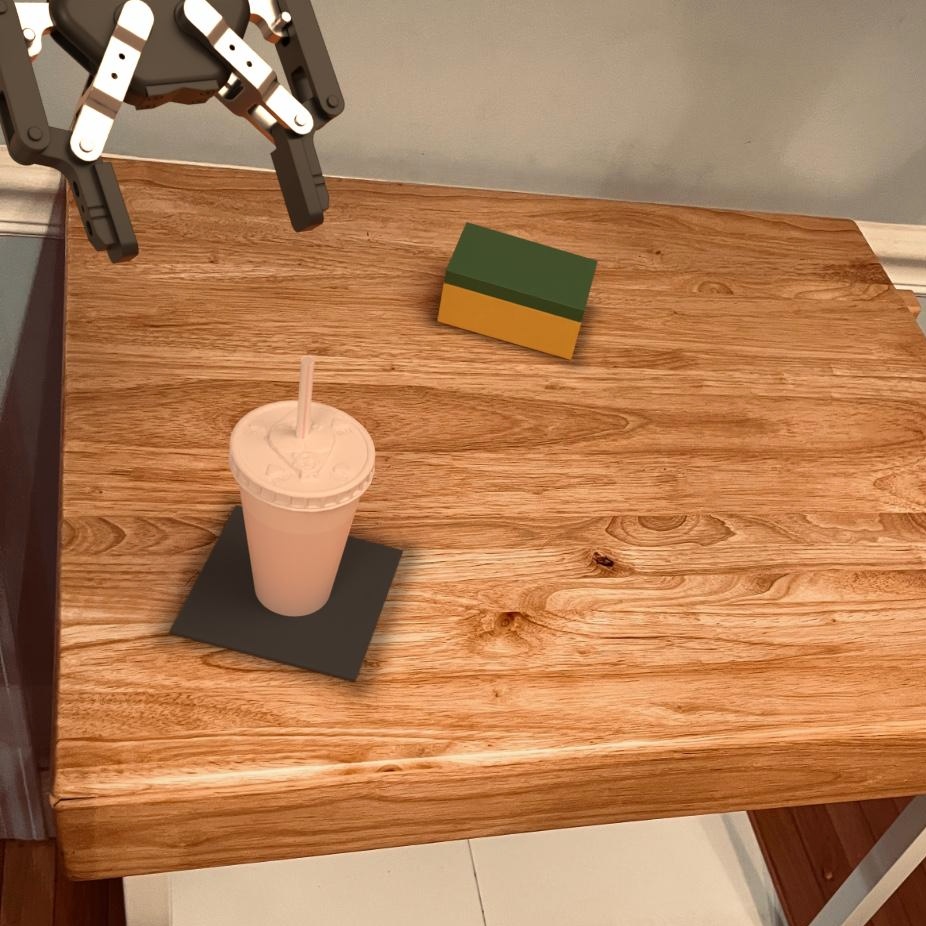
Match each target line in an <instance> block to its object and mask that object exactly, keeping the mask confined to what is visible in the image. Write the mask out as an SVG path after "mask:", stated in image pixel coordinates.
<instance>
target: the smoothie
mask: <svg viewBox="0 0 926 926" xmlns="http://www.w3.org/2000/svg"><path fill="white" fill-rule="evenodd" d="M314 374H315V359H314V358H313V357H312V356H309V355H304V356H302V357H301V358H300V367H299V382H298V384H299V385H298V398H297V399H290V400H280V401H275V402H271V403H267V404H264V405H261V406H259V407H256V408H254V409H253V410H250V411H249V412H247V413H245V415H244V416H243V417H241V418H240V419H239V421H237V423H236V424H235V425H234V427H233V429H232V431H231V434H230V438H229V448H228V460H227V461H228V462H227V463H228V467H229V469H230V472H231V475H232V477H233V479H234V480H235V481H236V482H237V484H238V486H239V487H238V490H239V496H240V500H241V507H242V508H243V514H244V521H245V528H246V534H247V541H248V547H249V554H250V561H251V567H252V574H253V580H254V587H255V593H256V596H257V598H258V599H259V601H260V602H261V603H262V604H263V605H264V606H265V607H266V608H268V609H269V610H271V611H273V612H275V613H278V614H281V615H285V616H304V615H308V614H311V613H313V612H315V611H317V610H319V609H320V608H321V607H323V606H324V605H325V603H326V602H327V600H328V599H329V596H330V593H331V590H332V586H333V583H334V580H335V577H336V573H337V570H338V567H339V564H340V561H341V557H342V554H343V551H344V548H345V544H346V541H347V538H348V536H350V535H349V534H350V531H351V527H352V524H353V523H354V522H353V521H354V518H355V515H356V512H357V509H358V507H359V503H360V499H361V496H363V494H364V493H365V492H366V490H368V488H369V487H370V486H371V484H372V481H373V478H374V475H375V473H376V468H375V466H376V465H375V462H376V448H375V444H374V440H373V438H372V436H371V435H370V433H369V432H368V431H367V429H366V427H364V426H363V424H362V423H360V422H359V421H358V420H357V419H355V418H354V417H353V416H352V415H350V414H348V413H346V412H345V411H343V410H341V409H339V408H337V407H334V406H331V405H328V404H324V403H322V402H316V401H312V399H313V398H312V397H313V385H314Z"/></svg>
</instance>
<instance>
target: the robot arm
mask: <svg viewBox="0 0 926 926" xmlns="http://www.w3.org/2000/svg"><path fill="white" fill-rule="evenodd" d="M250 23H252V24H254V25H255V26H256V27H257V28H258V29H259V31H260V33H261V34H262V38H263V39H264V40H265V41H266V42H269V43H271V44H274V47H275V50H276V54H277V56H278V59H279V61H280V64H281V66H282V71H283V73H284V76H285V78H286V82H287V84H288V87H289V90H290V91H288V90H287V89H286V88H285V87H284V86H283V85H282V84H281V83H280V82H279V80H278V79H279V78H278V75H277V73H276V71H275V70H274V69H273V68H272V67H271V66H270V65H269V64H268V62H266V61H265V60H264V59H263V58H262V57H261V56H260V55H259V54H258V53H257V52H255V50H254V49H252V47H250V46H249V44H247V43H246V42H245V41H244V38H245V35H246V32H247V30H248V26H249V24H250ZM46 35H49V37H50V38H51V39H52V40H53V41H54V43H55V44H56V45H57V46H59V47H60V48H61V49H62V50H63V51H64V52H65V53H66V54H68V56H70V57H71V58H72V59H73V60H74V61H75V62H76V63H77V64H78V65H80V66H81V67H82V68H83V69H84V71H86V72H87V73H88V74H87V77H86V79H85V81H84V85H83V87H82V89H81V92H80V95H79V97H78V100H77V103H76V105H75V108H74V110H73V114H72V116H71V121H70V124H69V127H68V128H67V129H64V128H59V127H55V126H50V125H49V121H48V118H47V114H46V110H45V107H44V103H43V99H42V96H41V92H40V89H39V85H38V81H37V77H36V73H35V70H34V67H33V62H35V61H36V60H37V58H38V56H39V55H40V53H41V50H42V47H43V43H42V37H43V36H46ZM213 97H214V98H215V99H216V100H217V101H219V103H221V104H222V105H223V106H224V107H225V108H226V109H227V110H229V112H230V113H232V114H233V115H235V116H236V117H239V118H244V119H245V120H246V121H247V122H249V123H250V124H251V125H252V126H253V127H254V128H255V129H256V130H257V131H259V133H260V134H262V135H263V136H264V137H265V138H266V139H267V140H268V141H269V142H270V143H271V144H273V146H275V149H274V150H272V151H271V152H270V153H269V154H270V158H271V161H272V164H273V168H274V171H275V174H276V178H277V181H278V185H279V188H280V191H281V194H282V198H283V201H284V204H285V208H286V212H287V214H288V218H289V221H290V225H291V227H292V229H293V231H294V232H295V233H297V234H298V233H304V232H309V231H313V230H314V229H316V228H319V227H320V226H321V225H323V224H324V221H325V215H324V213H325V212H326V211H328V210H329V209H330V195H329V194H330V193H329V191H328V187H327V185H326V181H325V177H324V175H323V171H322V167H321V164H320V160H319V157H318V154H317V150H316V147H315V142H314V137H315V133H316V131H320V130H321V129H322V128H324V127H325V126H326V125H327V124H328V123H330V122H331V121H332V120H334V119H336V118H337V117H339V116H340V115H341V114H342V113H343V112H344V111H345V106H346V104H345V103H346V102H345V98H344V96H343V93H342V90H341V87H340V84H339V81H338V77H337V74H336V71H335V69H334V66H333V63H332V60H331V57H330V54H329V51H328V49H327V46H326V42H325V40H324V36H323V33H322V31H321V28H320V25H319V22H318V18H317V16H316V12H315V10H314V7H313V4H312V2H311V0H46V1H45V2H42V1H41V2H36V1H31V2H29V1H25V2H24V1H14V0H0V128H1V130H2V135H3V138H4V142H5V146H6V149H7V153H8V155H9V157H10V158H11V159H12V160H13V161H14V162H15V163H16V164H18V165H20V166H24V167H29V166H30V167H31V166H33V165H38V166H41V167H46V168H51V169H54V170H56V171H58V172H59V173H61V174H62V175H63V176H64V177H65V179H66V180H67V182H68V184H69V188H70V190H71V193H72V196H73V199H74V202H75V204H76V207H77V210H78V214H79V217H80V220H81V223H82V226H83V229H84V232H85V234H86V238H87V240H88V242H89V243H90V244H91V246H92V247H93V249H94V250H95V251H96V252H105V251H106V253H107V256H108V259H109V261H110V262H111V263H112V264H113V265H115V264H116V265H117V264H120V263H121V264H122V263H126V262H127V263H128V262H131V261H132V260H133V259H136V257H137V256H139V254H140V247H139V243H138V239H137V237H136V234H135V231H134V227H133V224H132V222H131V219H130V215H129V212H128V209H127V206H126V203H125V200H124V196H123V193H122V191H121V187H120V185H119V182H118V181H119V180H118V178H117V176H116V172H115V169H114V167H113V163H112V161H104V160H103V157H102V153H103V150H104V148H105V145H106V143H107V140H108V137H109V134H110V132H111V129H112V127H113V124H114V121H115V119H116V116H117V115H118V113H119V111H120V109H121V106H122V104H123V103H124V104H127V105H129V106H133V107H134V108H135V111H145V110H146V111H147V110H153V109H156V108H159V107H161V106H163V105H166V104H168V103H174V104H180V105H187V106H192V105H193V106H194V105H200V104H201V105H202V104H206V103H207V102H208V101H209V100H210V99H211V98H213Z"/></svg>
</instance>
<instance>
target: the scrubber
mask: <svg viewBox="0 0 926 926" xmlns="http://www.w3.org/2000/svg"><path fill="white" fill-rule="evenodd" d="M597 266H598V260H597V259H594V258H590V257H587V256H584V255H580V254H577V253H572V252H570V251H566V250H563V249H560V248H556V247H552V246H550V245H546V244H542V243H540V242H535V241H533V240H529V239H527V238H522V237H519V236H515V235H512V234H509V233H506V232H502V231H498V230H495V229H492V228H488V227H485V226H482V225H478V224H475V223H472V222H468V221H466V222H465V224H464V227H463V229H462V232H461V234H460V236H459V238H458V241H457V243H456V245H455V247H454V249H453V252H452V255H451V256H450V260H449V262H448V264H447V266H446V269H445V273H444V279H443V285H442V290H441V297H440V303H439V308H438V315H437V322H438V323H441V324H445V325H448V326H452V327H454V328H459V329H462V330H466V331H469V332H473V333H477V334H479V335H483V336H486V337H490V338H493V339H497V340H500V341H504V342H507V343H511V344H514V345H518V346H521V347H525V348H528V349H531V350H535V351H538V352H541V353H545V354H549V355H552V356H555V357H559V358H563V359H566V360H569V361H571V360H572V359H573V354H574V350H575V347H576V343H577V339H578V335H579V334H580V329H581V326H582V322H583V318H584V315H585V310H586V307H587V304H588V300H589V295H590V293H591V289H592V284H593V281H594V277H595V273H596V270H597Z"/></svg>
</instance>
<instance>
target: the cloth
mask: <svg viewBox="0 0 926 926" xmlns="http://www.w3.org/2000/svg"><path fill="white" fill-rule="evenodd" d="M403 551H404V550H402V549H399V548H395V547H393V546H388V545H384V544H381V543H378V542H373V541H371V540H370V541H369V540H366V539H362V538H359V537H355V536H351V535H348V538H347V541H346V544H345V548H344V551H343V554H342V557H341V561H340V564H339V567H338V570H337V573H336V577H335V580H334V583H333V586H332V590H331V593H330V596H329V599H328V600H327V602H326V603H325V605H324V606H323V607H321V608H320V609H319V610H317V611H315V612H313V613H311V614H308V615H304V616H285V615H281V614H278V613H275V612H273V611H271V610H269V609H268V608H266V607H265V606H264V605H263V604H262V603H261V602H260V601H259V599H258V598H257V596H256V593H255V587H254V580H253V574H252V567H251V561H250V554H249V547H248V541H247V534H246V528H245V521H244V514H243V508H242V505H237V504H236V505H234V507H233V509H232V512H231V514H230V515H229V517H228V519H227V521H226V523H225V525H224V526H223V529H222V531H221V532H220V534H219V536H218V538H217V540H216V542H215V543H214V546H213V548H212V550H211V552H210V554H208V557H207V559H206V561H205V563H204V565H203V566H202V569H201V571H200V572H199V575H198V576H197V578H196V579H195V582H194V584H193V586H192V588H191V590H190V592H189V593H188V596H187V597H186V600H185V601H184V603H183V605H182V607H181V609H180V611H179V613H178V615H177V617H176V618H175V621H174V622H173V624H172V626H171V627H170V630H169V634H170V635H175V636H178V637H182V638H186V639H189V640H193V641H196V642H200V643H205V644H208V645H212V646H217V647H220V648H224V649H228V650H231V651H235V652H239V653H242V654H247V655H250V656H254V657H257V658H261V659H264V660H265V659H266V660H270V661H274V662H277V663H281V664H285V665H288V666H293V667H295V668H296V667H297V668H300V669H304V670H306V671H307V670H308V671H312V672H315V673H319V674H323V675H326V676H330V677H333V678H338V679H342V680H346V681H349V682H353V683H356V682H357V678H358V676H359V672H360V670H361V668H362V665H363V663H364V659H365V657H366V654H367V651H368V649H369V647H370V643H371V640H372V638H373V635H374V632H375V629H376V627H377V624H378V621H379V619H380V615H381V613H382V611H383V607H384V605H385V602H386V599H387V596H388V594H389V591H390V588H391V585H392V583H393V580H394V577H395V574H396V571H397V569H398V566H399V564H400V561H401V558H402V555H403Z"/></svg>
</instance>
